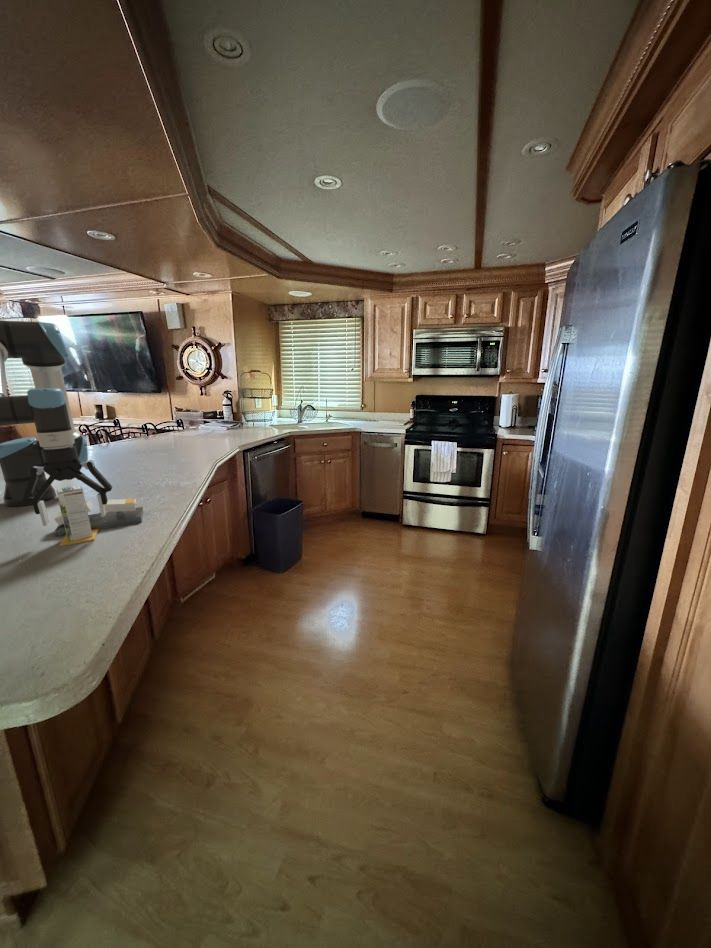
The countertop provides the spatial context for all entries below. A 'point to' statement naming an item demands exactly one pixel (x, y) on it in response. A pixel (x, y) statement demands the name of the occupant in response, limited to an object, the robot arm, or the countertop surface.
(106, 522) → the breaker panel
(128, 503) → the rocker
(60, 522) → the white flat block
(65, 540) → the pad
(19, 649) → the countertop surface
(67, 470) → the robot arm
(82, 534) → the syrup box
